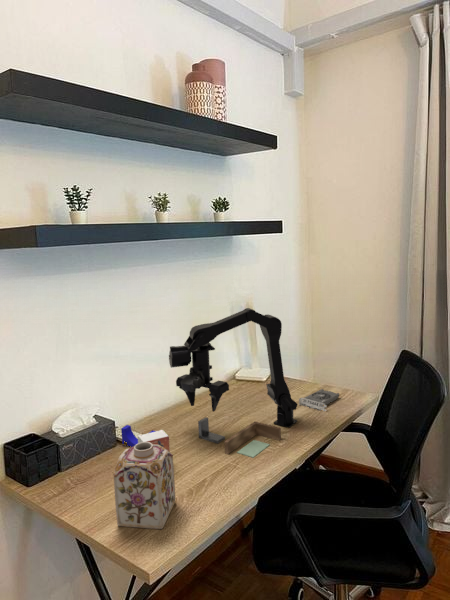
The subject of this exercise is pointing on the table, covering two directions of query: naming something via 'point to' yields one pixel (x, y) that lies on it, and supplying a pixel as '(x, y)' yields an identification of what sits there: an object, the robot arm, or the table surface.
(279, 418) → the robot arm
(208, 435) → the angle bracket
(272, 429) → the corner walls
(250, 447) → the mat
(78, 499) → the table surface
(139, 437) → the small box
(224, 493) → the table surface
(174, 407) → the table surface
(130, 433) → the blue saddle bracket
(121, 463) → the decorative jar
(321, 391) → the graphics card
